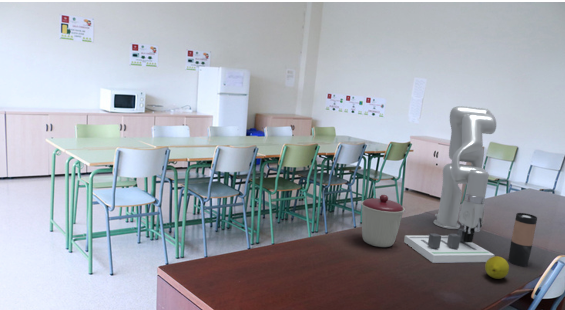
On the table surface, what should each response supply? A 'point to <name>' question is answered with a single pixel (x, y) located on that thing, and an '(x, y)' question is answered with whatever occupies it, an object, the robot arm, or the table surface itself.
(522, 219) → the travel mug
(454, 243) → the block
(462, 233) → the block
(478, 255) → the breaker panel
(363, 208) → the canister
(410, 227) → the table surface
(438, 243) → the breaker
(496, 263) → the lemon
